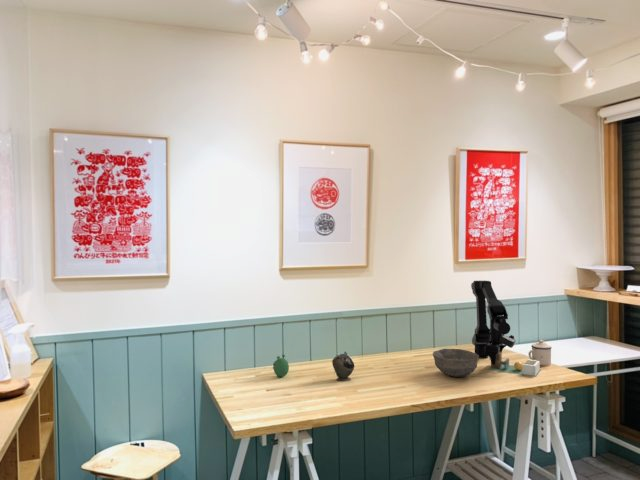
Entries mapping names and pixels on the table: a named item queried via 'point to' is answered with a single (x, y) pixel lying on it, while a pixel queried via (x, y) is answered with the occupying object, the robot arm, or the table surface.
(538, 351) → the teacup with lid
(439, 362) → the bowl
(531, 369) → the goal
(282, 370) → the alien toy
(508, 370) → the pitch
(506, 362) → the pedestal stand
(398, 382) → the table surface
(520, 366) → the ball
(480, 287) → the robot arm
